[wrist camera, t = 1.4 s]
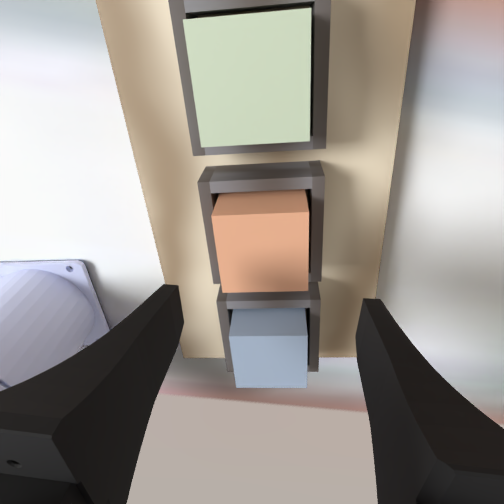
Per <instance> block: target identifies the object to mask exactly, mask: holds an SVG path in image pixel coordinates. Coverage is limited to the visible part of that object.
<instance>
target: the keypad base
mask: <svg viewBox="0 0 504 504" xmlns="http://www.w3.org/2000/svg"><path fill="white" fill-rule="evenodd" d="M96 4H97V8H98V12H99V16H100V20H101V24H102V28H103V32H104V36H105V40H106V44H107V48H108V52H109V57H110V61H111V65H112V69H113V73H114V77H115V81H116V85H117V89H118V93H119V97H120V101H121V105H122V109H123V113H124V117H125V122H126V126H127V130H128V134H129V138H130V142H131V146H132V150H133V154H134V158H135V162H136V166H137V170H138V174H139V178H140V183H141V187H142V191H143V195H144V199H145V203H146V207H147V211H148V215H149V219H150V223H151V227H152V231H153V235H154V239H155V243H156V248H157V252H158V256H159V260H160V264H161V268H162V272H163V276H164V280H165V284H169V285H178V286H179V292H180V299H181V305H182V311H183V317H184V326H183V330H182V333H181V337H180V340H179V341H180V345H181V349H182V353H183V357H184V358H225V360H226V366H227V372H234V369H233V362H232V355H231V348H230V341H229V332H230V326H231V320H232V313H233V309H262V308H305V315H306V324H307V334H308V349H307V372H318V365H319V357H357V353H356V341H355V335H356V330H357V325H358V320H359V316H360V311H361V306H362V301H363V298H370V299H375V298H376V291H377V283H378V276H379V269H380V261H381V254H382V247H383V239H384V232H385V224H386V217H387V210H388V202H389V195H390V188H391V180H392V173H393V166H394V158H395V151H396V144H397V136H398V129H399V122H400V114H401V107H402V99H403V92H404V85H405V77H406V70H407V63H408V55H409V48H410V41H411V33H412V26H413V19H414V11H415V4H416V0H96ZM304 8H311V83H310V141H304V142H287V143H270V144H252V145H235V146H218V147H201V142H200V135H199V128H198V121H197V114H196V108H195V101H194V94H193V87H192V80H191V73H190V66H189V60H188V53H187V46H186V39H185V32H184V25H183V19H194V18H205V17H216V16H227V15H238V14H249V13H260V12H271V11H282V10H293V9H304ZM293 189H305V192H306V198H307V203H308V209H309V260H308V291H284V292H237V293H222V286H221V279H220V272H219V266H218V259H217V252H216V245H215V238H214V231H213V224H212V217H211V215H212V213H213V210H214V207H215V204H216V201H217V199H218V196H219V193H228V192H250V191H272V190H293Z"/></svg>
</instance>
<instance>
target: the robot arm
mask: <svg viewBox="0 0 504 504" xmlns="http://www.w3.org/2000/svg"><path fill="white" fill-rule="evenodd" d="M69 266H71V267H72V268H73V269H71V268H70V267H69ZM183 326H184V317H183V311H182V305H181V299H180V292H179V286H178V285H169V284H163V285H162V286H161V287H160V288H159V289H158V290H157V291H155V292H154V293H153V294H152V295H151V296H150V297H149V298H148V299H147V300H146V301H144V302H143V303H142V304H141V305H140V306H139V307H138V308H137V309H136V310H134V311H133V312H132V313H131V314H130V315H129V316H128V317H126V318H125V319H124V320H123V321H122V322H120V323H119V324H118V325H117V326H115V327H114V328H113V329H112V330H109V327H108V324H107V322H106V319H105V317H104V314H103V311H102V309H101V306H100V303H99V301H98V298H97V295H96V293H95V290H94V287H93V285H92V282H91V279H90V277H89V274H88V272H87V269H86V266H85V264H84V263H83V262H81V261H79V260H66V261H33V262H0V504H126V503H127V499H128V495H129V491H130V487H131V482H132V479H133V475H134V471H135V467H136V463H137V460H138V456H139V452H140V448H141V445H142V442H143V438H144V434H145V431H146V428H147V424H148V421H149V418H150V415H151V411H152V408H153V405H154V402H155V399H156V397H157V394H158V392H159V390H160V387H161V385H162V383H163V380H164V378H165V375H166V373H167V371H168V368H169V366H170V364H171V361H172V359H173V356H174V354H175V352H176V349H177V347H178V344H179V340H180V337H181V333H182V330H183ZM355 341H356V353H357V363H358V368H359V372H360V377H361V382H362V387H363V392H364V396H365V401H366V406H367V410H368V415H369V421H370V427H371V435H372V444H373V453H374V464H375V474H376V485H377V498H378V504H504V429H503V428H502V427H500V426H499V425H498V424H497V423H495V422H494V421H493V420H491V419H490V418H489V417H487V416H486V415H485V414H484V413H482V412H481V411H480V410H479V409H477V408H476V407H475V406H474V405H473V404H471V403H470V402H469V401H468V400H467V399H466V398H464V397H463V396H462V395H461V394H460V393H459V392H458V391H456V390H455V389H454V388H453V387H452V386H451V385H450V384H449V383H448V382H447V381H446V380H445V379H444V378H443V377H442V376H441V375H440V374H439V373H438V372H437V371H436V370H435V369H434V368H433V367H432V366H431V365H430V364H429V363H428V361H427V360H426V359H425V358H424V357H423V356H422V354H421V353H420V352H419V351H418V350H417V349H416V347H415V346H414V345H413V344H412V342H411V341H410V340H409V339H408V337H407V336H406V335H405V333H404V332H403V331H402V329H401V328H400V327H399V325H398V324H397V323H396V321H395V320H394V318H393V317H392V316H391V314H390V313H389V311H388V310H387V308H386V307H385V305H384V304H383V302H382V301H381V300H380V299H370V298H363V301H362V306H361V311H360V316H359V320H358V325H357V330H356V335H355ZM82 345H89V346H88V347H86V348H85V349H83V350H81V351H80V352H78V351H79V349H80V347H81V346H82ZM77 352H78V353H77Z"/></svg>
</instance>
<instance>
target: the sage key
mask: <svg viewBox="0 0 504 504" xmlns="http://www.w3.org/2000/svg"><path fill="white" fill-rule="evenodd" d="M183 25H184V32H185V39H186V46H187V53H188V60H189V66H190V73H191V80H192V87H193V94H194V101H195V108H196V114H197V121H198V128H199V135H200V142H201V147H218V146H235V145H252V144H270V143H287V142H304V141H310V83H311V8H304V9H293V10H282V11H271V12H260V13H249V14H238V15H227V16H216V17H205V18H194V19H183Z"/></svg>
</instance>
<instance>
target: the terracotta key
mask: <svg viewBox="0 0 504 504" xmlns="http://www.w3.org/2000/svg"><path fill="white" fill-rule="evenodd" d="M211 217H212V224H213V231H214V238H215V245H216V252H217V259H218V266H219V272H220V279H221V286H222V293H237V292H284V291H308V260H309V209H308V203H307V198H306V192H305V189H293V190H272V191H250V192H228V193H219V196H218V199H217V201H216V204H215V207H214V210H213V213H212V215H211Z"/></svg>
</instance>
